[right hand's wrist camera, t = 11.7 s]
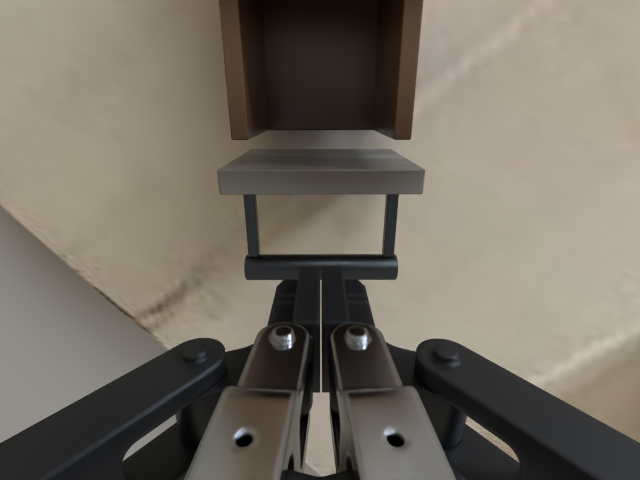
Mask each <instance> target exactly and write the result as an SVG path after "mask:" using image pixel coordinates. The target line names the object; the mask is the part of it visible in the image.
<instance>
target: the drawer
mask: <svg viewBox="0 0 640 480" xmlns="http://www.w3.org/2000/svg"><path fill="white" fill-rule="evenodd" d="M219 6H220V17H221V28H222V39H223V50H224V61H225V72H226V83H227V95H228V106H229V117H230V128H231V138H232V140H248V139H250V138H252V137H254V136H257V135H259V134H261V133H263V132H265V131H268V130H374V131H377V132H379V133H381V134H383V135H386V136H388V137H390V138H393V139H395V140H410V139H411V132H412V120H413V109H414V98H415V87H416V76H417V64H418V53H419V42H420V31H421V19H422V8H423V0H219ZM217 172H218V181H219V190H220V194H221V195H224V194H244V206H245V218H246V230H247V242H248V254H249V255H247V256H246V258H245V277H246V279H247V280H284V279H298V275H299V267H300V266H320V280H322V266H342V269H343V276H344V279H357V280H395V279H396V278H397V274H398V262H397V257H396V255H395V254H394V245H395V233H396V221H397V208H398V196H399V194H422V193H423V185H424V175H425V170H424V169H423V168H421V167H419V166H418V165H416V164H414V163H413V162H411V161H409V160H408V159H406V158H404V157H403V156H401V155H399V154H398V153H396V152H394V151H393V150H391V149H251V150H249V151H248V152H246V153H244V154H243V155H241V156H240V157H238V158H236V159H235V160H233V161H232V162H230V163H228V164H227V165H225V166H224V167H222V168H220V169H219V170H218V171H217ZM256 194H386V203H385V218H384V232H383V247H382V254H290V255H259V254H260V244H259V230H258V215H257V201H256Z"/></svg>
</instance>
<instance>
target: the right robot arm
mask: <svg viewBox="0 0 640 480" xmlns="http://www.w3.org/2000/svg"><path fill="white" fill-rule="evenodd" d="M313 392H320V266H300V267H299V275H298V279H284V280H283V281H282V282H281V283H280V284H279V285H278V286H277V288H276V292H275V297H274V301H273V305H272V309H271V313H270V317H269V321H268V326H266V327H265V328H263V329H262V330H261V331H260V332H259V333H258V335H257V337H256V339H255V342H254V344H252V345H250V346H248V347H245V348H241V349H237V350H233V351H228V352H225V348H224V346H223V344H222V343H221V342H219V341H217V340H215V339H211V338H198V339H193V340H189V341H186V342H184V343H182V344H180V345H178V346H176V347H174V348H172V349H171V350H169V351H167V352H165V353H163V354H161V355H160V356H158V357H156V358H154V359H152V360H151V361H149V362H147V363H145V364H143V365H141V366H140V367H138V368H136V369H134V370H132V371H131V372H129V373H127V374H125V375H123V376H121V377H120V378H118V379H116V380H114V381H112V382H111V383H109V384H107V385H105V386H103V387H102V388H100V389H98V390H96V391H94V392H92V393H91V394H89V395H87V396H85V397H83V398H82V399H80V400H78V401H76V402H74V403H73V404H71V405H69V406H67V407H65V408H63V409H62V410H60V411H58V412H56V413H54V414H52V415H51V416H49V417H47V418H45V419H43V420H42V421H40V422H38V423H36V424H34V425H33V426H31V427H29V428H27V429H25V430H24V431H22V432H20V433H18V434H16V435H14V436H13V437H11V438H9V439H7V440H5V441H3V442H2V443H0V480H640V443H638V442H637V441H635V440H633V439H631V438H629V437H627V436H626V435H624V434H622V433H620V432H618V431H617V430H615V429H613V428H611V427H609V426H608V425H606V424H604V423H602V422H600V421H598V420H597V419H595V418H593V417H591V416H589V415H588V414H586V413H584V412H582V411H580V410H578V409H577V408H575V407H573V406H571V405H569V404H568V403H566V402H564V401H562V400H560V399H558V398H557V397H555V396H553V395H551V394H549V393H548V392H546V391H544V390H542V389H540V388H539V387H537V386H535V385H533V384H531V383H529V382H528V381H526V380H524V379H522V378H520V377H519V376H517V375H515V374H513V373H511V372H509V371H508V370H506V369H504V368H502V367H500V366H499V365H497V364H495V363H493V362H491V361H489V360H488V359H486V358H484V357H482V356H480V355H479V354H477V353H475V352H473V351H471V350H470V349H468V348H466V347H464V346H462V345H460V344H458V343H456V342H453V341H450V340H445V339H429V340H426V341H423V342H422V343H420V344H419V345H418V347H417V349H416V352H415V351H410V350H406V349H402V348H398V347H395V346H392V345H390V344H388V343H387V342H385V339H384V337H383V335H382V333H381V332H380V331H379V330H378V329H377V328H375V325H374V321H373V317H372V313H371V309H370V305H369V301H368V297H367V293H366V289H365V286H364V285H363V284H362V283H361V282H360V281H359V280H357V279H344V276H343V269H342V266H322V392H330V425H331V433H332V441H333V450H334V458H335V466H336V474H332V475H328V476H324V477H316V476H312V475H308V474H304V466H305V458H306V449H307V441H308V433H309V425H310V409H311V407H312V403H313ZM175 414H176V419H177V422H176V423H175V424H174V425H172V426H171V427H170V428H168V429H167V430H165V431H164V432H163V433H161V434H160V435H159V436H157V437H156V438H154V439H153V440H152V441H150V442H149V443H148V444H146V445H145V446H143V447H142V448H141V449H139V450H138V451H137V452H135V453H134V454H132V455H131V456H130V457H128V458H127V459H126V460H124V461H123V458H124V456H125V454H126V452H127V451H128V449H129V448H130V447H131V446H132V445H133V444H134V443H135V442H136V441H138V440H139V439H140V438H142V437H143V436H145V435H146V434H148V433H149V432H150V431H152V430H153V429H155V428H156V427H158V426H159V425H160V424H162V423H163V422H165V421H166V420H168V419H169V418H170V417H172V416H173V415H175ZM467 416H468V417H470V418H471V419H472V420H474V421H475V422H477V423H478V424H480V425H481V426H482V427H484V428H485V429H487V430H488V431H490V432H491V433H492V434H494V435H495V436H497V437H498V438H499V439H501V440H502V441H504V442H505V443H506V444H508V445H509V446H510V447H511V448H512V450H513V451H514V452H515V454H516V455H517V457H518V459H519V462H520V463H519V462H517V461H516V460H515V459H513V458H512V457H510V456H509V455H508V454H506V453H505V452H504V451H502V450H501V449H499V448H498V447H497V446H495V445H494V444H492V443H491V442H490V441H488V440H487V439H486V438H484V437H483V436H481V435H480V434H479V433H477V432H476V431H475V430H473V429H472V428H470V427H469V426H468V425H466V424H465V422H466V418H467ZM122 461H123V462H122Z"/></svg>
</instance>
